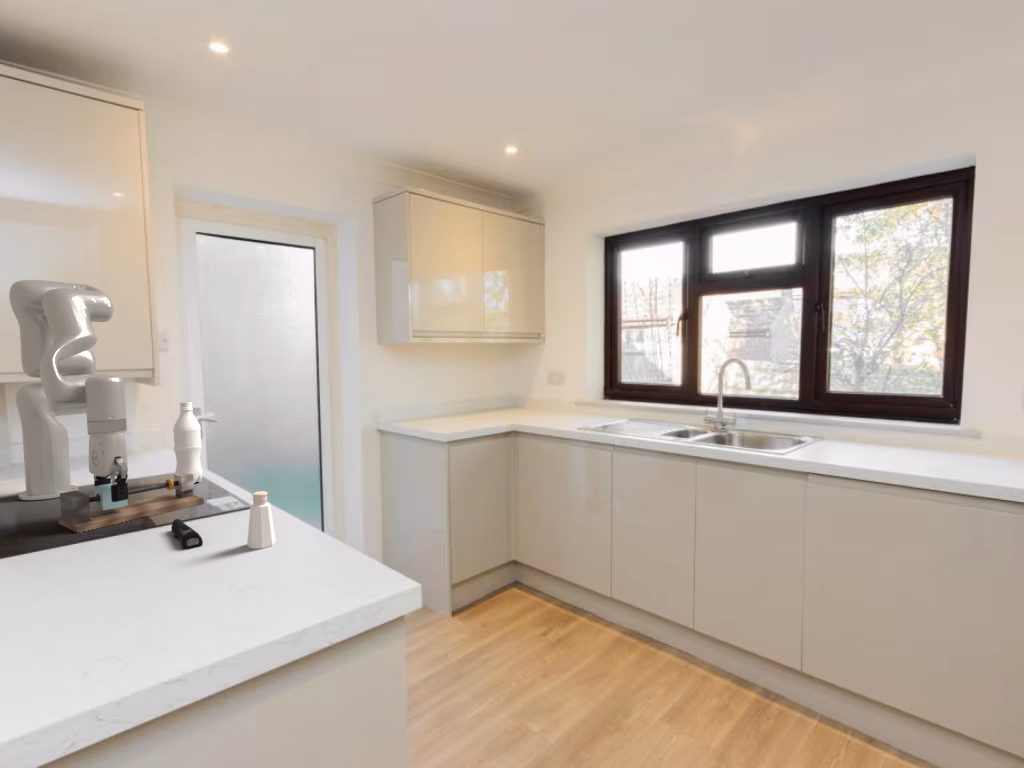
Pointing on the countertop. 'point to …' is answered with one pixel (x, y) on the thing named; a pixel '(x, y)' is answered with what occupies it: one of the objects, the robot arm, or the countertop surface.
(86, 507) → the linear slide rail
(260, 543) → the pepper shaker
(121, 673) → the countertop surface
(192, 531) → the electric trimmer
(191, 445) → the water bottle
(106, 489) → the sleeve
